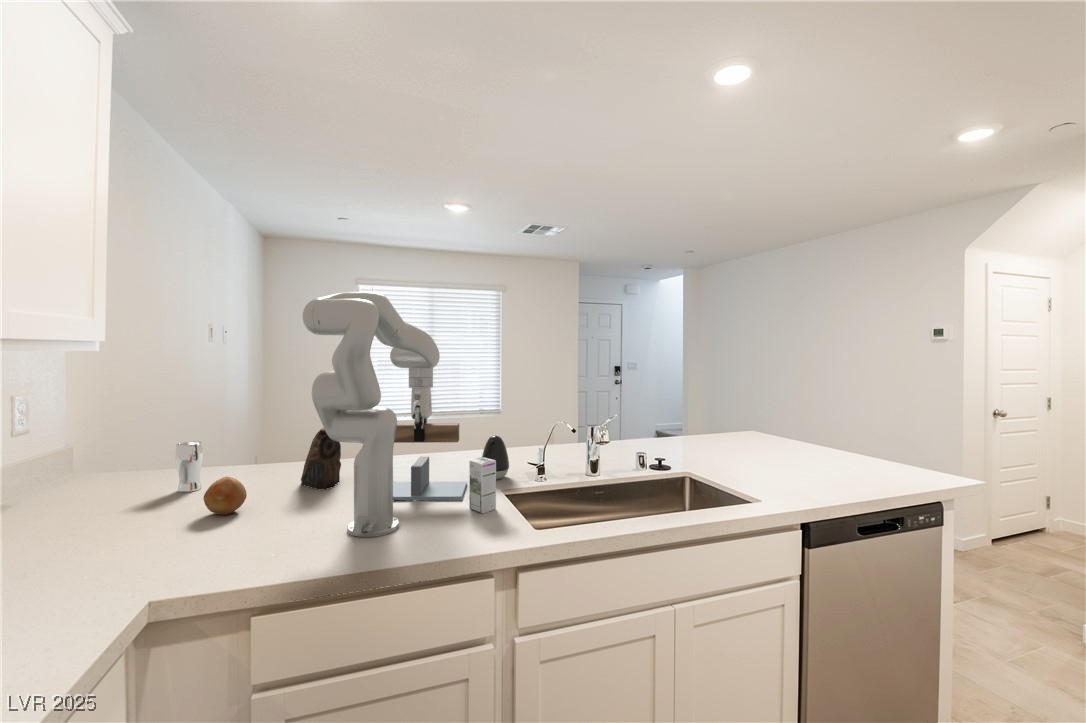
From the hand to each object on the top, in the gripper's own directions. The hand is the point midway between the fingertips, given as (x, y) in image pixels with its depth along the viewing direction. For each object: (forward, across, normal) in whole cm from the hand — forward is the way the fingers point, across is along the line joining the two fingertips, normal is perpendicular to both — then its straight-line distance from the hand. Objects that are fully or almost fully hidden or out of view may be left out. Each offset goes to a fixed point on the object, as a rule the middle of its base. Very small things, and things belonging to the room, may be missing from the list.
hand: (420, 439), depth 154 cm
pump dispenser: (+18, +17, -23) cm, 33 cm away
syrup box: (+17, -16, -21) cm, 32 cm away
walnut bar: (+1, 0, 0) cm, 1 cm away
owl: (+17, +10, +35) cm, 40 cm away
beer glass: (+17, +4, +74) cm, 76 cm away
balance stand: (+17, 0, 0) cm, 17 cm away
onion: (+17, -18, +50) cm, 56 cm away
